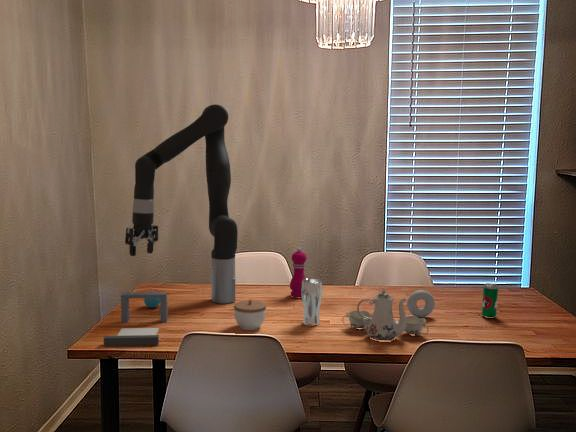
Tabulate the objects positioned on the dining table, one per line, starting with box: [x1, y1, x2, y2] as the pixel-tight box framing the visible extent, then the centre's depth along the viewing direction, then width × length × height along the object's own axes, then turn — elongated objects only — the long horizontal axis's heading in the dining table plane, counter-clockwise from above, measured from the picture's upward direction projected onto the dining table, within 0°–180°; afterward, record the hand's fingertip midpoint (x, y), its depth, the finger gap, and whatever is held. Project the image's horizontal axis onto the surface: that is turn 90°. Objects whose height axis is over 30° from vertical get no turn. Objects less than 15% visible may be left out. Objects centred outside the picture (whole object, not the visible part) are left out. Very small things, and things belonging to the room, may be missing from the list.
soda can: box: [481, 282, 499, 317], centre depth 196 cm, size 5×5×12 cm
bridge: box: [120, 291, 169, 324], centre depth 187 cm, size 3×15×10 cm, turn 95°
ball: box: [143, 290, 160, 309], centre depth 203 cm, size 6×6×6 cm
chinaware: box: [341, 288, 429, 340], centre depth 176 cm, size 28×17×17 cm, turn 77°
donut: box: [406, 289, 436, 318], centre depth 195 cm, size 10×4×10 cm, turn 94°
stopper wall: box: [103, 334, 160, 347], centre depth 165 cm, size 16×2×2 cm, turn 95°
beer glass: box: [301, 278, 323, 325], centre depth 187 cm, size 7×7×15 cm
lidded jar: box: [233, 299, 267, 331], centre depth 182 cm, size 11×11×9 cm
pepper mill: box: [289, 247, 308, 298], centre depth 220 cm, size 7×7×20 cm
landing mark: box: [116, 327, 160, 336], centre depth 174 cm, size 12×12×1 cm
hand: (141, 254), depth 202 cm, fingers open, 8 cm apart
